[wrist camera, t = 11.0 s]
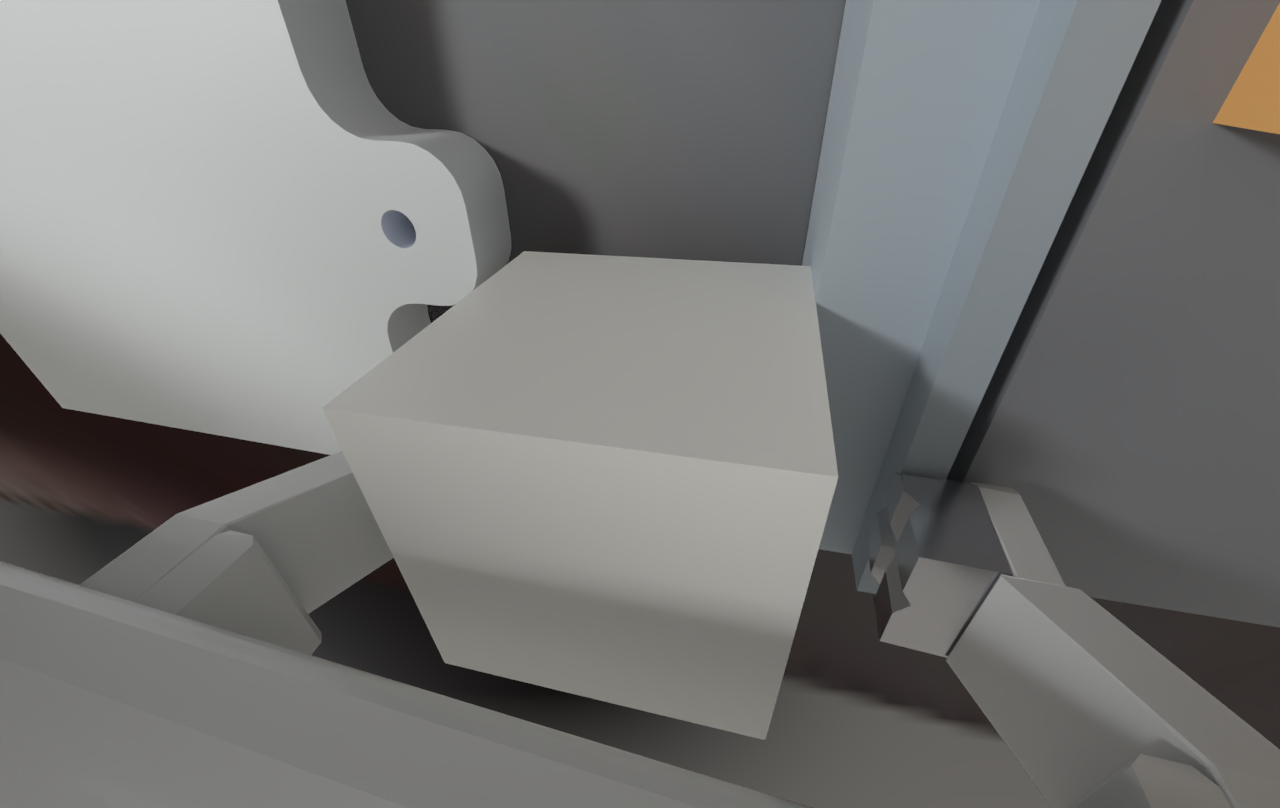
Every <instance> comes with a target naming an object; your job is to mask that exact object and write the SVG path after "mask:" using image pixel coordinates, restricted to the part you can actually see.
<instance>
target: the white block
mask: <svg viewBox="0 0 1280 808" xmlns="http://www.w3.org/2000/svg"><path fill="white" fill-rule="evenodd" d="M322 410H323V412H324V414H325V417H326V419H327V421H328V423H329V425H330V427H331V429H332V431H333V433H334V435H335V437H336V439H337V441H338V443H339V445H340V448H341V450H342V452H343V454H344V456H345V458H346V460H347V462H348V464H349V466H350V468H351V470H352V472H353V474H354V476H355V479H356V481H357V483H358V485H359V487H360V489H361V491H362V493H363V495H364V497H365V499H366V501H367V503H368V505H369V507H370V509H371V512H372V514H373V516H374V518H375V520H376V522H377V524H378V526H379V528H380V530H381V532H382V534H383V536H384V538H385V540H386V543H387V545H388V547H389V549H390V551H391V553H392V555H393V557H394V559H395V561H396V563H397V565H398V567H399V569H400V571H401V574H402V576H403V578H404V580H405V582H406V584H407V586H408V588H409V590H410V592H411V594H412V596H413V598H414V600H415V602H416V604H417V606H418V609H419V611H420V613H421V615H422V617H423V619H424V621H425V623H426V625H427V627H428V629H429V631H430V633H431V636H432V637H433V640H434V642H435V644H436V646H437V648H438V650H439V652H440V654H441V656H442V658H443V660H444V662H445V663H447V664H451V665H456V666H460V667H464V668H468V669H472V670H476V671H481V672H484V673H489V674H493V675H497V676H501V677H505V678H509V679H513V680H518V681H522V682H526V683H530V684H535V685H539V686H543V687H547V688H551V689H555V690H559V691H563V692H567V693H572V694H576V695H580V696H584V697H589V698H592V699H596V700H601V701H605V702H609V703H613V704H617V705H621V706H626V707H630V708H634V709H638V710H642V711H646V712H650V713H655V714H659V715H663V716H667V717H672V718H675V719H679V720H684V721H688V722H692V723H696V724H700V725H705V726H709V727H713V728H717V729H721V730H725V731H730V732H734V733H738V734H742V735H746V736H750V737H755V738H758V739H762V740H766V736H767V732H768V729H769V726H770V722H771V718H772V715H773V711H774V708H775V704H776V700H777V697H778V693H779V690H780V686H781V682H782V679H783V675H784V672H785V668H786V664H787V661H788V657H789V654H790V650H791V646H792V643H793V639H794V635H795V632H796V628H797V625H798V621H799V617H800V614H801V610H802V607H803V603H804V599H805V596H806V592H807V589H808V585H809V581H810V578H811V574H812V571H813V567H814V563H815V560H816V556H817V553H818V549H819V545H820V542H821V538H822V535H823V531H824V527H825V524H826V520H827V516H828V513H829V509H830V506H831V502H832V498H833V495H834V491H835V488H836V484H837V480H838V470H837V462H836V455H835V447H834V439H833V431H832V424H831V416H830V408H829V401H828V393H827V385H826V378H825V370H824V362H823V354H822V347H821V339H820V331H819V324H818V316H817V308H816V301H815V293H814V285H813V278H812V271H811V266H797V265H778V264H759V263H740V262H721V261H702V260H683V259H664V258H645V257H626V256H607V255H588V254H569V253H550V252H531V251H524V252H522V253H521V254H520V255H519V256H517V257H516V258H515V259H513V260H512V261H511V262H510V263H508V264H507V265H506V266H504V267H503V268H502V269H500V270H499V271H498V272H497V273H495V274H494V275H493V276H491V277H490V278H489V279H488V280H486V281H485V282H484V283H482V284H481V285H480V286H479V287H477V288H476V289H475V290H473V291H472V292H471V293H470V294H468V295H467V296H466V297H464V298H463V299H462V300H461V301H459V302H458V303H457V304H455V305H454V306H453V307H451V308H450V309H449V310H448V311H446V312H445V313H444V314H442V315H441V316H440V317H439V318H437V319H436V320H435V321H433V322H432V323H431V324H430V325H428V326H427V327H426V328H424V329H423V330H422V331H421V332H419V333H418V334H417V335H415V336H414V337H413V338H412V339H410V340H409V341H408V342H406V343H405V344H404V345H402V346H401V347H400V348H399V349H397V350H396V351H395V352H393V353H392V354H391V355H390V356H388V357H387V358H386V359H384V360H383V361H382V362H381V363H379V364H378V365H377V366H375V367H374V368H373V369H372V370H370V371H369V372H368V373H366V374H365V375H364V376H362V377H361V378H360V379H359V380H357V381H356V382H355V383H353V384H352V385H351V386H350V387H348V388H347V389H346V390H344V391H343V392H342V393H341V394H339V395H338V396H337V397H335V398H334V399H333V400H332V401H330V402H329V403H328V404H326V405H325V406H324V407H323V408H322Z"/></svg>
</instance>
